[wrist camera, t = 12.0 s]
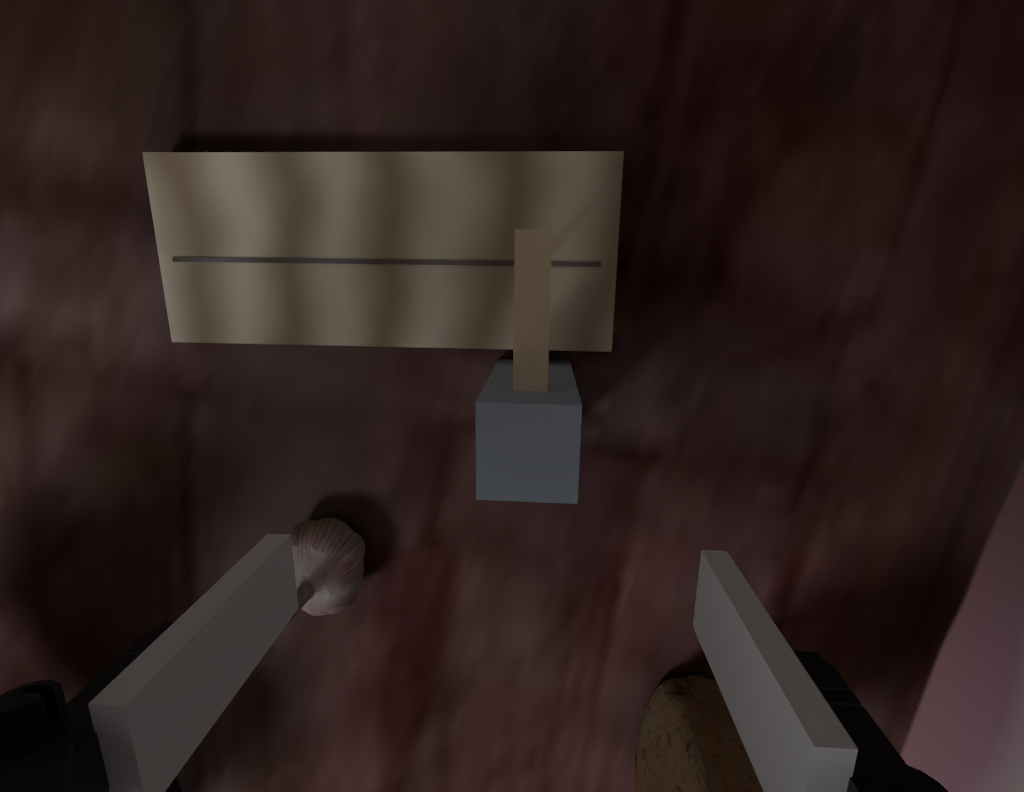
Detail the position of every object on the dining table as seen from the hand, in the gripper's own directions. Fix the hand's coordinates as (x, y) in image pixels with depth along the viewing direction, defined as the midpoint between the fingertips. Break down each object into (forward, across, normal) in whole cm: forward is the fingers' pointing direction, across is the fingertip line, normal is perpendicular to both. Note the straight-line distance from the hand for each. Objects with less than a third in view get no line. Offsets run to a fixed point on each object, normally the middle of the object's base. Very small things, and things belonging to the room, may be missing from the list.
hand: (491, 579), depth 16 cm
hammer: (+21, +1, +5) cm, 21 cm away
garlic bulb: (+21, -15, -12) cm, 29 cm away
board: (+21, -9, +11) cm, 25 cm away
